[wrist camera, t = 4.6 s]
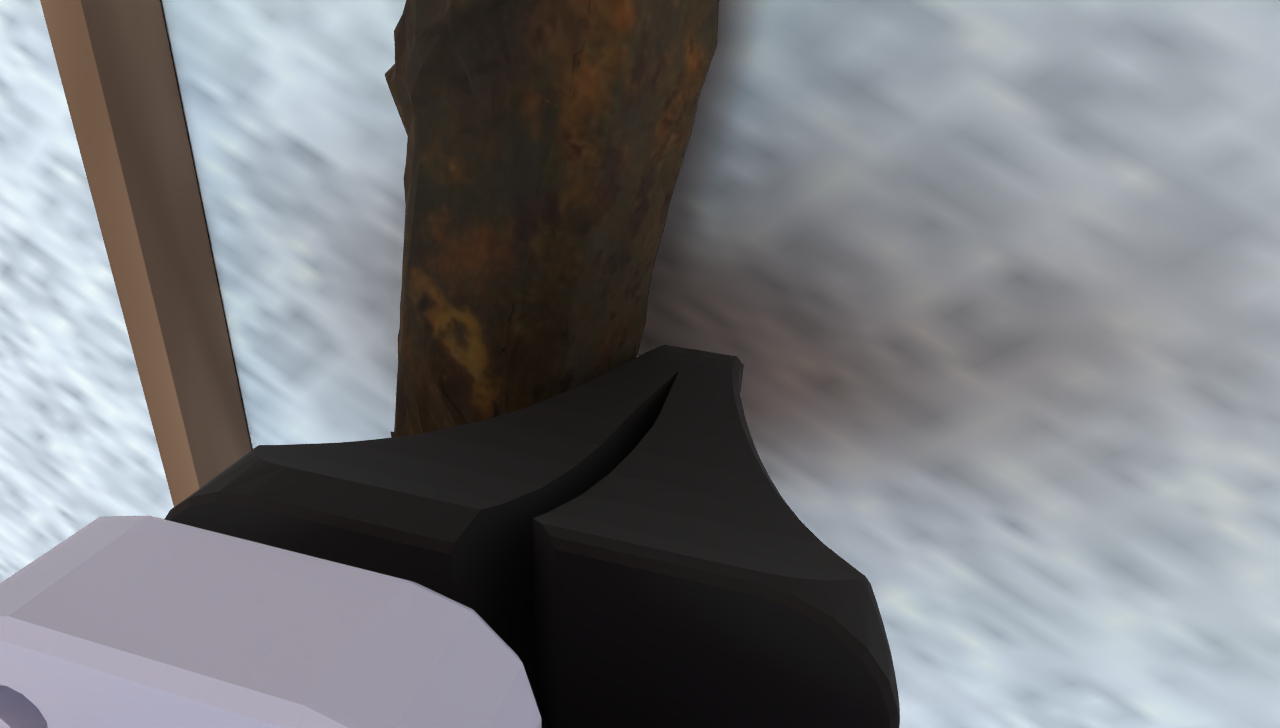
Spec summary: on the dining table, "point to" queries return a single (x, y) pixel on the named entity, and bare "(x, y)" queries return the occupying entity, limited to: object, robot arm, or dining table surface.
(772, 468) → the dining table surface
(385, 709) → the robot arm
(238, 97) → the dining table surface
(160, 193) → the tool bay
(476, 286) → the hand tool
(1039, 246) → the dining table surface
